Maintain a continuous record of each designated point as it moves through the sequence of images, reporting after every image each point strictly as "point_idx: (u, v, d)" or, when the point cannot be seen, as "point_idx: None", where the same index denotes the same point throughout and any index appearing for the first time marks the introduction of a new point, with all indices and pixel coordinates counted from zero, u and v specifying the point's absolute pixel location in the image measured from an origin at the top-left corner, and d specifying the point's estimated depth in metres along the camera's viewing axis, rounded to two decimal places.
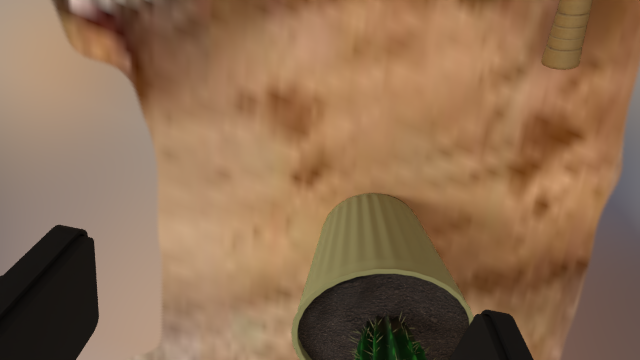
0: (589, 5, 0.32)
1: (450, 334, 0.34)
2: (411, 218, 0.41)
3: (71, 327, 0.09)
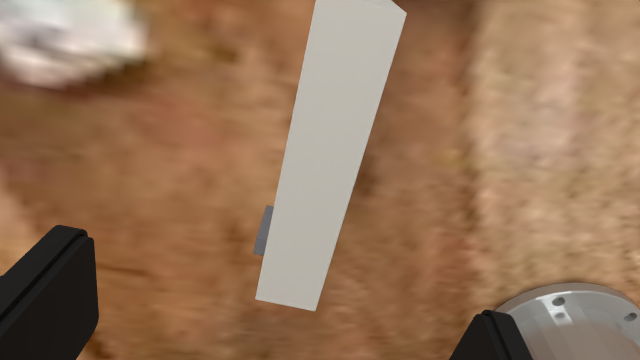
0: None
1: None
2: None
3: (71, 327, 0.09)
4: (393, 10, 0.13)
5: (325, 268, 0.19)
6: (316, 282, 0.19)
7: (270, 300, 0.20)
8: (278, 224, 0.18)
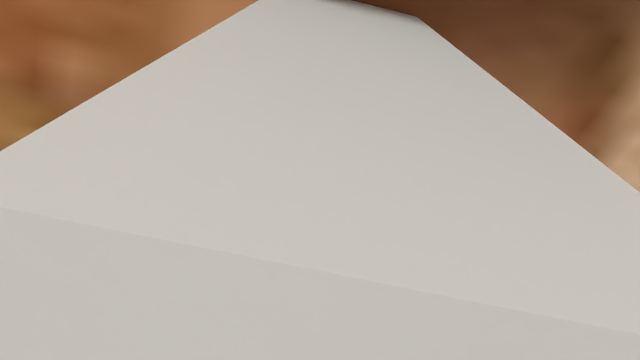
0: None
1: None
2: None
3: None
4: None
5: None
6: None
7: None
8: None
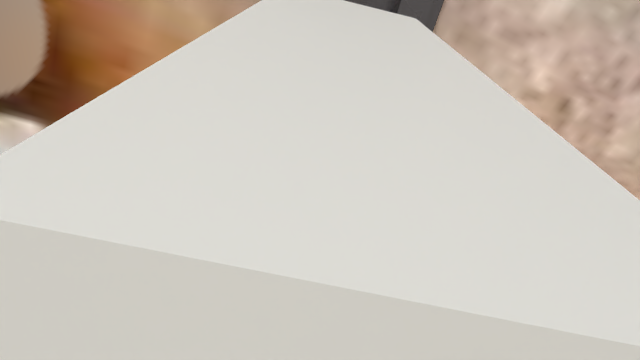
0: None
1: None
2: None
3: None
4: None
5: None
6: None
7: None
8: None
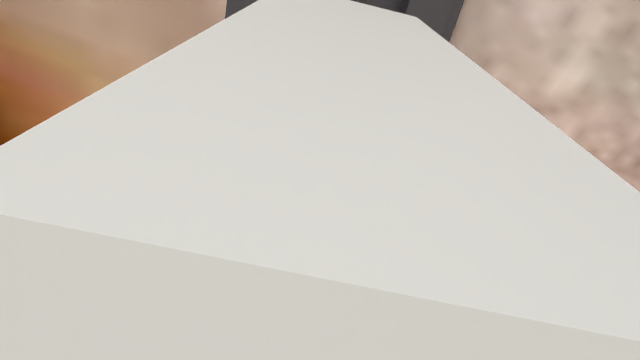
0: None
1: None
2: None
3: None
4: None
5: None
6: None
7: None
8: None
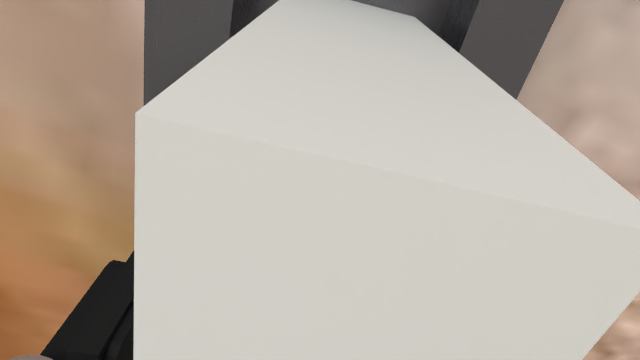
0: None
1: None
2: None
3: None
4: (602, 218, 0.02)
5: None
6: None
7: None
8: None
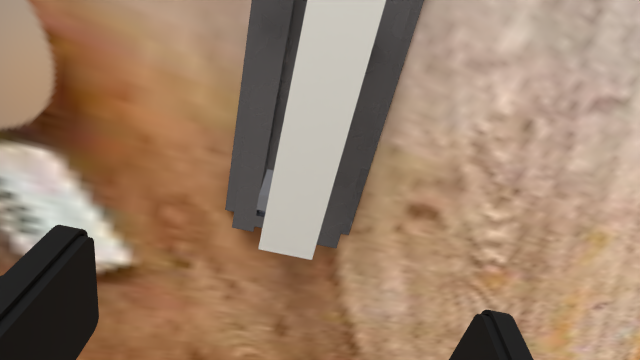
0: None
1: None
2: None
3: (71, 327, 0.09)
4: None
5: (320, 219, 0.21)
6: (313, 232, 0.21)
7: (271, 250, 0.22)
8: (279, 178, 0.20)
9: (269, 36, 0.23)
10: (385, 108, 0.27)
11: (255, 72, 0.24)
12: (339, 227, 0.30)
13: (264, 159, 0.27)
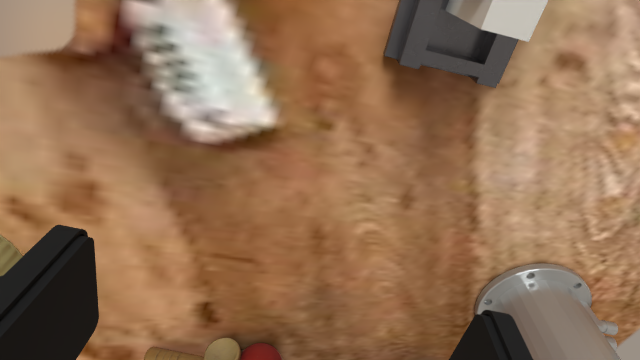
0: None
1: None
2: None
3: (71, 327, 0.09)
4: None
5: None
6: (538, 7, 0.23)
7: (493, 30, 0.24)
8: None
9: None
10: None
11: None
12: (503, 63, 0.31)
13: None
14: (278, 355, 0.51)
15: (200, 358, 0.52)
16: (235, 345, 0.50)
